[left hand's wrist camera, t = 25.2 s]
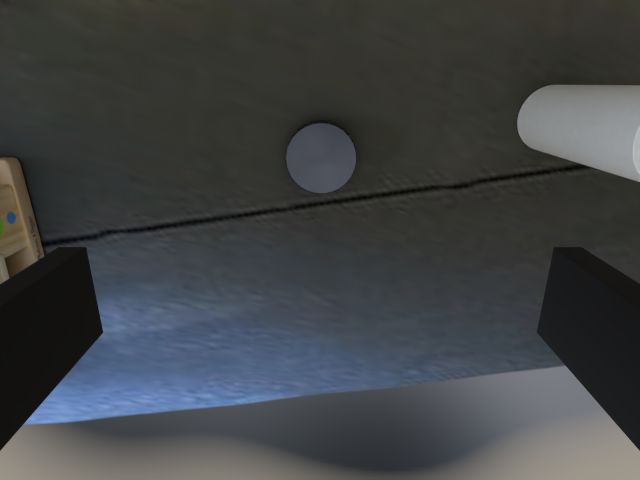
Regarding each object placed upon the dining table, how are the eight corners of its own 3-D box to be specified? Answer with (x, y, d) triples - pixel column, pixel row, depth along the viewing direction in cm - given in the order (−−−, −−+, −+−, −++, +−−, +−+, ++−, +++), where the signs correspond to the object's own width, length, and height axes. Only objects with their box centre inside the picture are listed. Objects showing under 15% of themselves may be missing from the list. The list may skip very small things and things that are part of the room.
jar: (530, 162, 38) (675, 216, 22) (507, 107, 36) (645, 125, 21) (590, 129, 37) (784, 163, 21) (568, 71, 35) (761, 63, 20)
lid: (369, 152, 37) (372, 156, 35) (323, 202, 39) (324, 208, 37) (318, 104, 36) (318, 105, 34) (273, 158, 37) (270, 162, 35)
